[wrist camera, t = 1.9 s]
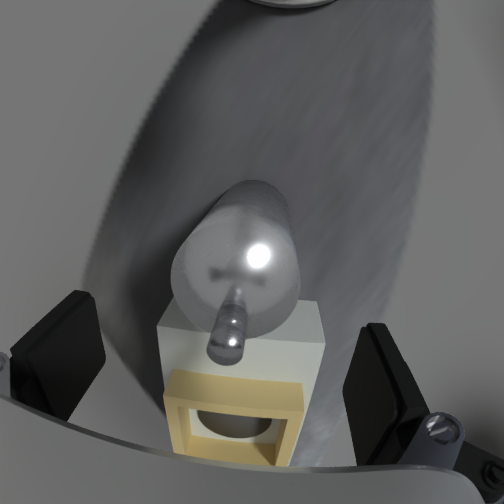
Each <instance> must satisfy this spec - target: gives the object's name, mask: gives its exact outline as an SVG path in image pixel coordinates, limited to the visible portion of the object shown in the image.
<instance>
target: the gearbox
mask: <svg viewBox="0 0 504 504" xmlns="http://www.w3.org/2000/svg"><path fill="white" fill-rule="evenodd" d="M157 333H158V342H159V351H160V359H161V367H162V374H163V381H164V388H165V391H164V394H163V399H164V404H165V410H166V416H167V421H168V426H169V431H170V436H171V441H172V445H173V450H174V453H177V454H182V455H188V456H193V457H199V458H205V459H212V460H219V461H227V462H235V463H244V464H255V465H268V466H289V464H290V461H291V458H292V455H293V452H294V449H295V446H296V443H297V440H298V437H299V434H300V431H301V428H302V425H303V422H304V419H305V415H306V412H307V409H308V406H309V402H310V399H311V395H312V392H313V389H314V385H315V382H316V378H317V374H318V371H319V367H320V363H321V359H322V356H323V352H324V348H325V344H326V343H325V338H324V333H323V329H322V324H321V319H320V315H319V310H318V305H317V301H305V300H298V302H297V304H296V307H295V309H294V310H293V312H292V314H291V315H290V316H289V318H288V319H287V320H286V321H285V322H284V323H283V324H282V325H280V326H279V327H278V328H276V329H275V330H273V331H271V332H270V333H267V334H265V335H263V336H259V337H256V338H251V339H245V345H244V352H243V357H242V359H241V361H240V362H238V363H237V364H235V365H232V366H223V365H219V364H216V363H215V362H213V361H212V360H211V359H210V358H209V357H208V355H207V352H206V348H207V344H208V341H209V338H210V335H211V333H208V332H206V331H204V330H203V329H201V328H199V327H198V326H197V325H195V324H194V323H193V322H192V321H190V320H189V319H188V318H187V316H186V315H185V314H184V313H183V312H182V310H181V309H180V307H179V306H178V304H177V302H176V300H175V297H173V298H172V300H171V302H170V304H169V305H168V307H167V309H166V310H165V312H164V314H163V316H162V317H161V319H160V321H159V323H158V324H157Z"/></svg>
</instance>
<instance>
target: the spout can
mask: <svg viewBox="0 0 504 504" xmlns="http://www.w3.org/2000/svg"><path fill="white" fill-rule="evenodd" d="M300 286H301V283H300V273H299V267H298V261H297V255H296V249H295V243H294V238H293V232H292V226H291V221H290V215H289V210H288V205H287V203H286V200H285V198H284V197H283V195H282V194H281V193H280V192H279V190H278V189H276V188H275V187H274V186H272V185H271V184H269V183H266V182H263V181H259V180H246V181H242V182H239V183H237V184H235V185H233V186H232V187H231V188H229V189H228V190H227V191H226V193H225V194H224V195H223V196H222V197H221V198H220V200H219V201H218V202H217V203H216V204H215V205H214V207H213V208H212V209H211V210H210V211H209V212H208V214H207V215H206V216H205V217H204V218H203V220H202V221H201V222H200V223H199V224H198V226H197V227H196V228H195V229H194V230H193V232H192V233H191V234H190V235H189V237H188V238H187V239H186V240H185V241H184V243H183V244H182V245H181V247H180V248H179V250H178V251H177V253H176V255H175V257H174V260H173V263H172V268H171V287H172V291H173V295H174V297H175V300H176V302H177V304H178V306H179V307H180V309H181V310H182V312H183V313H184V314H185V315H186V316H187V318H188V319H189V320H190V321H192V322H193V323H194V324H195V325H197V326H198V327H199V328H201V329H203V330H204V331H206V332H208V333H211V335H210V338H209V341H208V344H207V348H206V352H207V355H208V357H209V358H210V359H211V360H212V361H213V362H215V363H216V364H219V365H223V366H232V365H235V364H237V363H238V362H240V361H241V359H242V357H243V352H244V345H245V339H251V338H256V337H259V336H263V335H265V334H267V333H270V332H271V331H273V330H275V329H276V328H278V327H279V326H280V325H282V324H283V323H284V322H285V321H286V320H287V319H288V318H289V316H290V315H291V314H292V312H293V310H294V309H295V307H296V304H297V302H298V299H299V295H300Z"/></svg>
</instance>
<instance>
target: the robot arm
mask: <svg viewBox="0 0 504 504" xmlns="http://www.w3.org/2000/svg"><path fill="white" fill-rule="evenodd" d="M249 1H252V2H254V3H258V4H262V5H266V6H270V7H279V8H307V7H315V6H320V5H323V4H327V3H330V2H333V1H335V0H249ZM10 351H11V354H12V357H11V358H10V359H9V357H8V356H7V354H4V353H3V352H0V504H504V460H503V459H501V458H499V457H497V456H494V455H492V454H490V453H488V452H486V451H484V450H482V449H480V448H478V447H476V446H474V445H472V444H469V443H467V442H465V441H463V440H464V434H465V432H464V428H463V426H462V424H461V423H460V421H458V419H457V418H455V417H453V416H452V415H450V414H447V413H444V412H435V413H430V411H429V409H428V407H427V405H426V402H425V401H424V398H423V396H422V394H421V392H420V390H419V388H418V386H417V383H416V381H415V379H414V377H413V375H412V373H411V371H410V369H409V367H408V365H407V364H406V362H405V361H404V359H403V357H402V355H401V353H400V351H399V350H398V348H397V346H396V344H395V342H394V340H393V338H392V336H391V334H390V332H389V331H388V328H387V327H386V325H385V324H384V323H368V324H367V325H366V327H362V328H361V331H360V334H359V337H358V341H357V344H356V347H355V351H354V354H353V357H352V360H351V364H350V367H349V370H348V373H347V376H346V379H345V382H344V385H343V398H344V403H345V407H346V412H347V416H348V422H349V426H350V431H351V436H352V442H353V447H354V452H355V457H356V463H357V466H349V467H288V466H268V465H255V464H244V463H235V462H227V461H219V460H212V459H205V458H199V457H193V456H188V455H182V454H177V453H172V452H167V451H163V450H158V449H154V448H150V447H146V446H142V445H138V444H134V443H130V442H126V441H123V440H120V439H116V438H113V437H110V436H106V435H103V434H100V433H97V432H94V431H91V430H88V429H85V428H82V427H79V426H77V425H74V424H71V423H69V422H67V421H68V419H69V417H70V416H71V414H72V413H73V411H74V410H75V408H76V406H77V405H78V403H79V402H80V400H81V399H82V397H83V396H84V394H85V393H86V391H87V389H88V388H89V386H90V385H91V383H92V382H93V380H94V379H95V377H96V376H97V374H98V373H99V371H100V370H101V369H102V367H103V365H104V364H105V360H106V355H105V350H104V346H103V342H102V337H101V332H100V327H99V321H98V316H97V310H96V304H95V300H94V298H93V297H91V294H90V293H89V292H85V291H79V290H74V291H73V292H72V293H70V294H69V295H68V296H67V297H66V298H65V299H64V300H63V301H61V302H60V303H59V304H58V305H57V306H56V307H54V308H53V309H52V310H51V311H50V312H49V313H48V314H47V315H46V316H44V317H43V318H42V319H41V320H40V321H39V322H38V323H37V324H36V325H35V326H34V327H32V328H31V329H30V330H29V332H27V333H26V334H25V335H24V336H23V337H22V338H21V339H20V340H19V341H18V342H17V343H16V344H15V345H14V346H12V348H10Z"/></svg>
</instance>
